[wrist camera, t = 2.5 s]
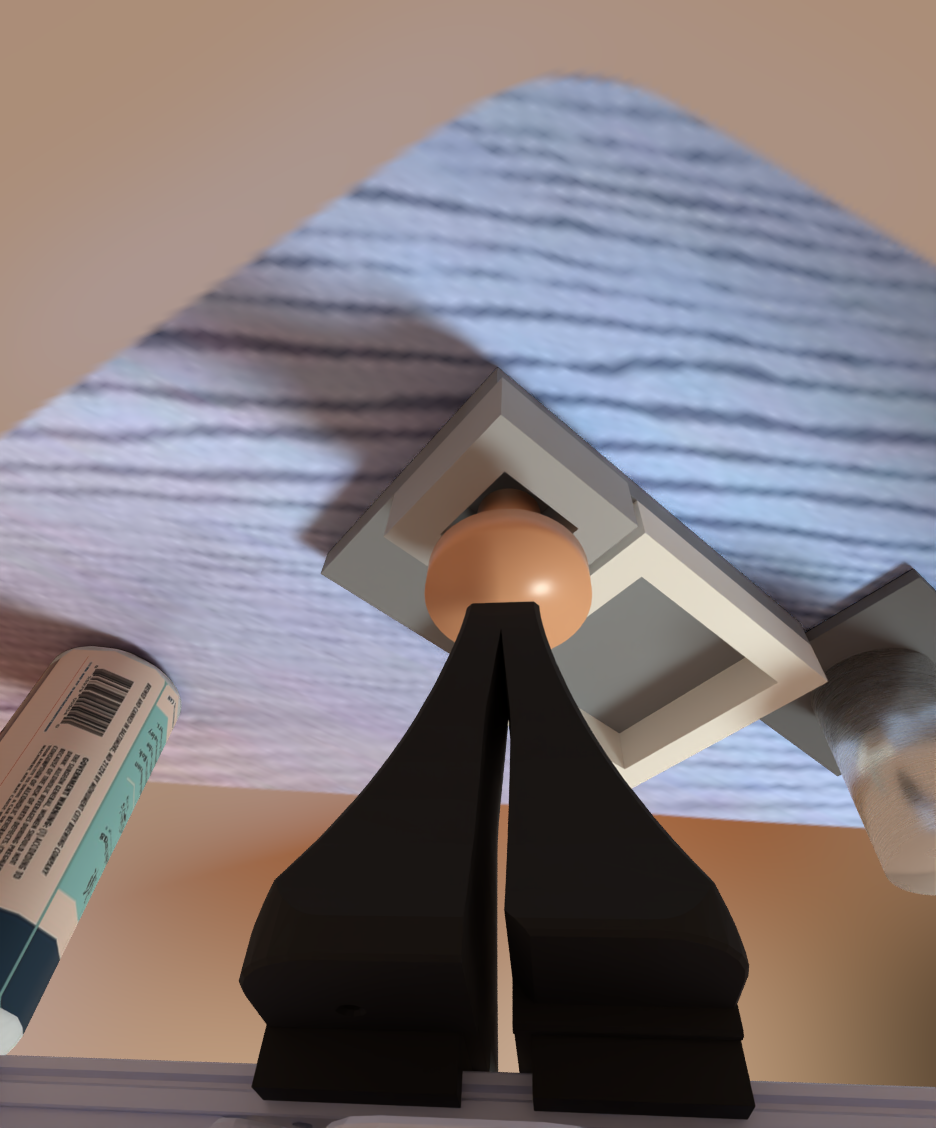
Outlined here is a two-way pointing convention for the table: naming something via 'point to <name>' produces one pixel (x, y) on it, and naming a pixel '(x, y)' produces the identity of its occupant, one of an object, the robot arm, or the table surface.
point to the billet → (887, 755)
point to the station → (592, 584)
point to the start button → (509, 566)
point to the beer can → (68, 805)
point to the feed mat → (861, 650)
